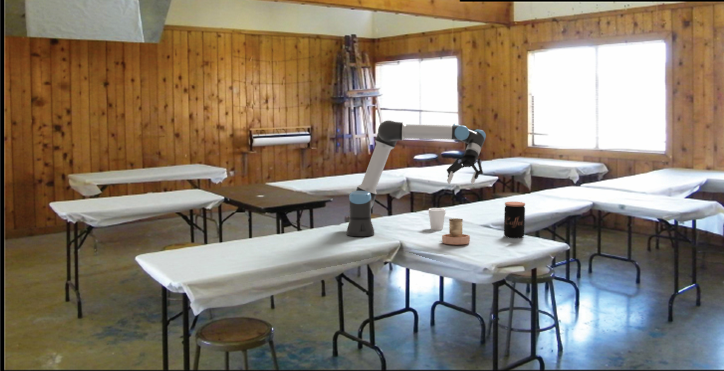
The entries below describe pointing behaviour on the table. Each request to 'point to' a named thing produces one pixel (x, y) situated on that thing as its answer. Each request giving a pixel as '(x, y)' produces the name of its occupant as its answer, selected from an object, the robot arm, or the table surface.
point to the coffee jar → (514, 219)
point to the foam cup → (437, 218)
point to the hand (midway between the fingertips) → (460, 182)
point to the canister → (455, 227)
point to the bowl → (455, 239)
